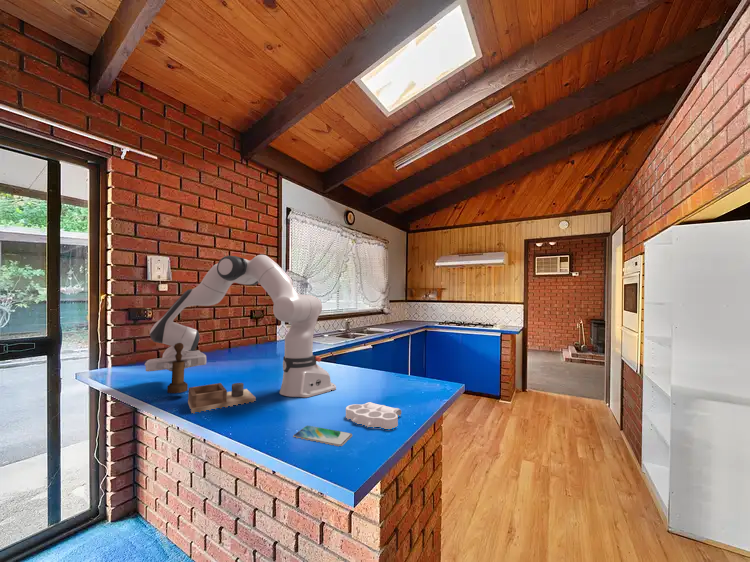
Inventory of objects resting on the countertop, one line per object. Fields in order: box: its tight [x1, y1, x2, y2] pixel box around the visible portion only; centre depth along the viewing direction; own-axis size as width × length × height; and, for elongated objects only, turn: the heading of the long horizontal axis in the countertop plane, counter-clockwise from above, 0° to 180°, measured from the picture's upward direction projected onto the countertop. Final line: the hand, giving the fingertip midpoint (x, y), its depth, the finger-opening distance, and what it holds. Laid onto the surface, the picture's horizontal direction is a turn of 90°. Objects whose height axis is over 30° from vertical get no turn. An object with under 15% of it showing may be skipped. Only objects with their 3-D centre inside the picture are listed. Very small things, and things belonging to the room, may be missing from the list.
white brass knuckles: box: [345, 401, 402, 430], centre depth 97 cm, size 3×18×15 cm
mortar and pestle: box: [166, 343, 189, 394], centre depth 118 cm, size 7×6×18 cm
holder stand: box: [187, 382, 257, 414], centre depth 112 cm, size 20×13×6 cm, turn 126°
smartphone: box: [292, 425, 353, 447], centre depth 85 cm, size 7×1×15 cm
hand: (178, 365), depth 117 cm, fingers closed on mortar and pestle, 4 cm apart
